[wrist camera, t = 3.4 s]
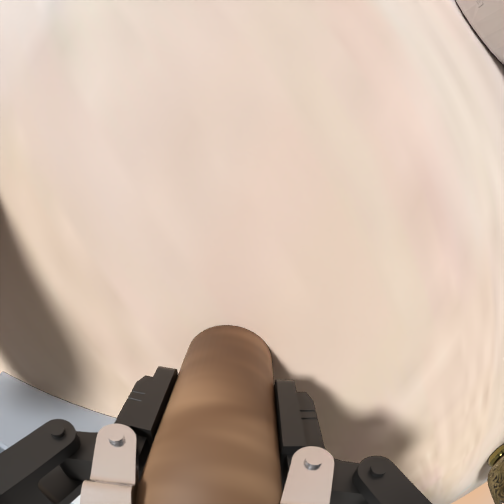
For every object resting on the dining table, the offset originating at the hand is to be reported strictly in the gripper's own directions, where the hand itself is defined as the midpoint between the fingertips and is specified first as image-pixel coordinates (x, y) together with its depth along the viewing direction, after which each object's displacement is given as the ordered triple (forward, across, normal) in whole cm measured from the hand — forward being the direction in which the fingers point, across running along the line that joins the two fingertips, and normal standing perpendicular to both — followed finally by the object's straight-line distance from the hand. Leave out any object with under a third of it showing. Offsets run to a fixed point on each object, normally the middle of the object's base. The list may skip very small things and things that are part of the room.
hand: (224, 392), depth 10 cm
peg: (+2, 0, 0) cm, 2 cm away
